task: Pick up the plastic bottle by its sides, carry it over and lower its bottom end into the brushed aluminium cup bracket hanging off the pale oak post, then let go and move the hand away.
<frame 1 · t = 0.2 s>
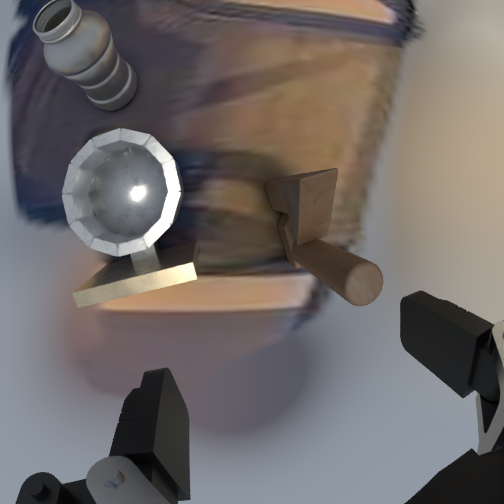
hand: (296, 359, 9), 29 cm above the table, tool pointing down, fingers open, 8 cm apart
wooden wedge with rod: (288, 219, 38), on the table
cup bracket: (135, 192, 34), on the table
plastic bottle: (117, 91, 31), on the table
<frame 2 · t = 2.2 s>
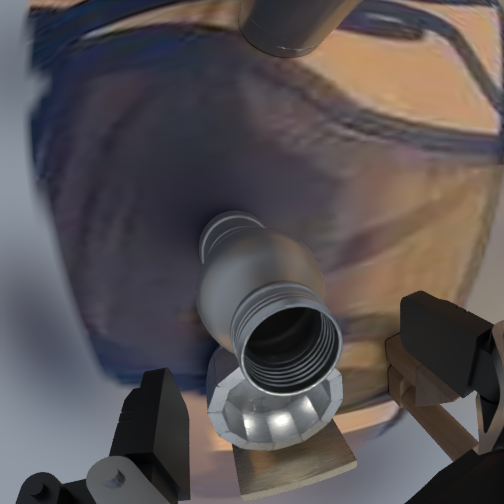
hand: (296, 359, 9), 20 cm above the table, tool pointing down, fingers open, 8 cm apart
wooden wedge with rod: (396, 363, 36), on the table
cup bracket: (262, 363, 32), on the table
plastic bottle: (232, 242, 29), on the table
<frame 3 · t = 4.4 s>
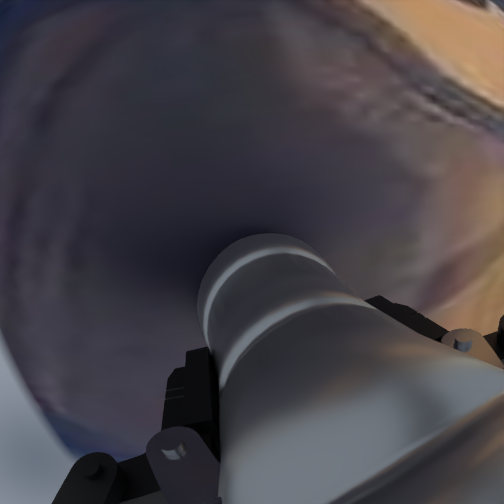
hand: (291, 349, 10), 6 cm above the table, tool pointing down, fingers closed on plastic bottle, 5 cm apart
plastic bottle: (258, 287, 16), on the table, touching gripper
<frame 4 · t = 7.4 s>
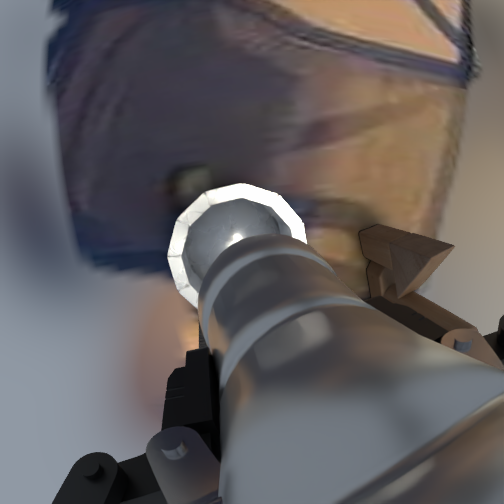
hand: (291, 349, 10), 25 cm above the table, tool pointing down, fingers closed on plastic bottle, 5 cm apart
wooden wedge with rod: (375, 264, 38), on the table
cup bracket: (231, 240, 34), on the table
plastic bottle: (258, 287, 16), point 18 cm above the table, touching gripper
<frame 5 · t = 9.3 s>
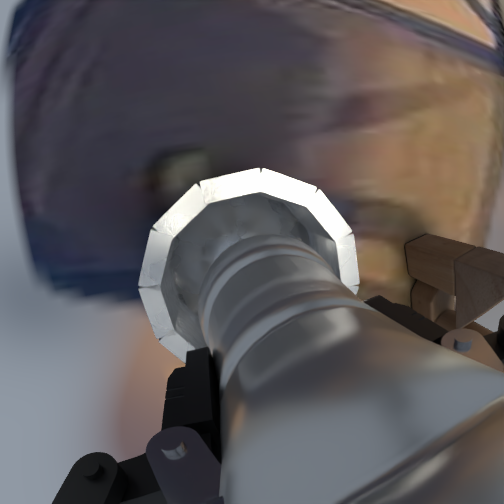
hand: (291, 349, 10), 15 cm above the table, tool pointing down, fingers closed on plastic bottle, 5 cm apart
wooden wedge with rod: (420, 284, 28), on the table
cup bracket: (238, 256, 24), on the table
plastic bottle: (258, 288, 16), point 8 cm above the table, touching gripper
when the fingers open (11 cm above the table, at t = 10.5 s): plastic bottle drops 2 cm, resting on cup bracket.
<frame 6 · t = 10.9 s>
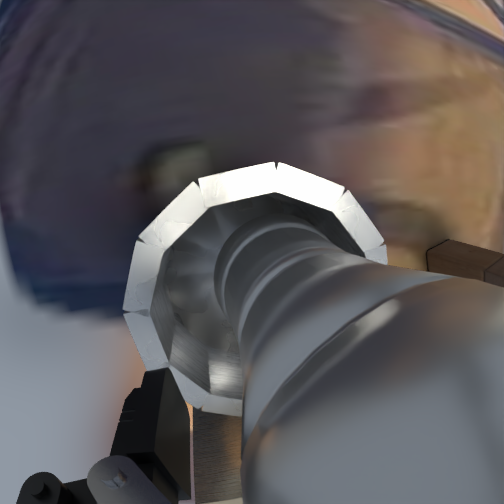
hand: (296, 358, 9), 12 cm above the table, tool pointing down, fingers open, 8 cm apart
wooden wedge with rod: (440, 294, 25), on the table
cup bracket: (244, 267, 21), on the table
plastic bottle: (266, 265, 18), point 3 cm above the table, touching cup bracket, gripper
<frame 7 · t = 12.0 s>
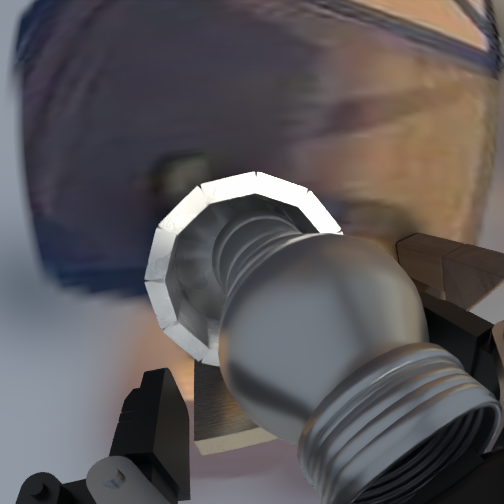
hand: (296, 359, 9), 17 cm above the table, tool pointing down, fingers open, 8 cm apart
wooden wedge with rod: (412, 282, 29), on the table
cup bracket: (237, 254, 25), on the table
plastic bottle: (254, 251, 23), point 3 cm above the table, touching cup bracket, gripper
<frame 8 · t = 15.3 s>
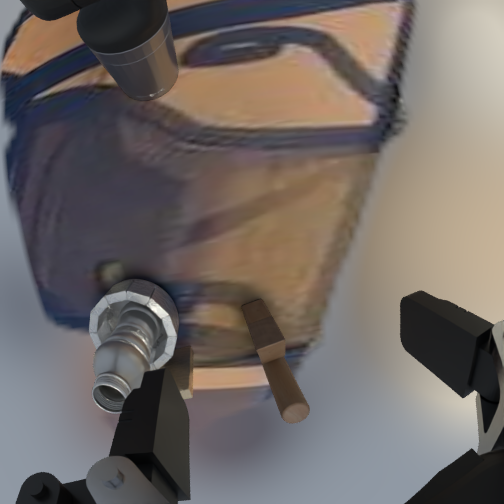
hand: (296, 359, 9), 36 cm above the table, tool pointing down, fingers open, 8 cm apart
wooden wedge with rod: (260, 328, 48), on the table
cup bracket: (141, 312, 44), on the table
plastic bottle: (143, 314, 42), point 3 cm above the table, touching cup bracket
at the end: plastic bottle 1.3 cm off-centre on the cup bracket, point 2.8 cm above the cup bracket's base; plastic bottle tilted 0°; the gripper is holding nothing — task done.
